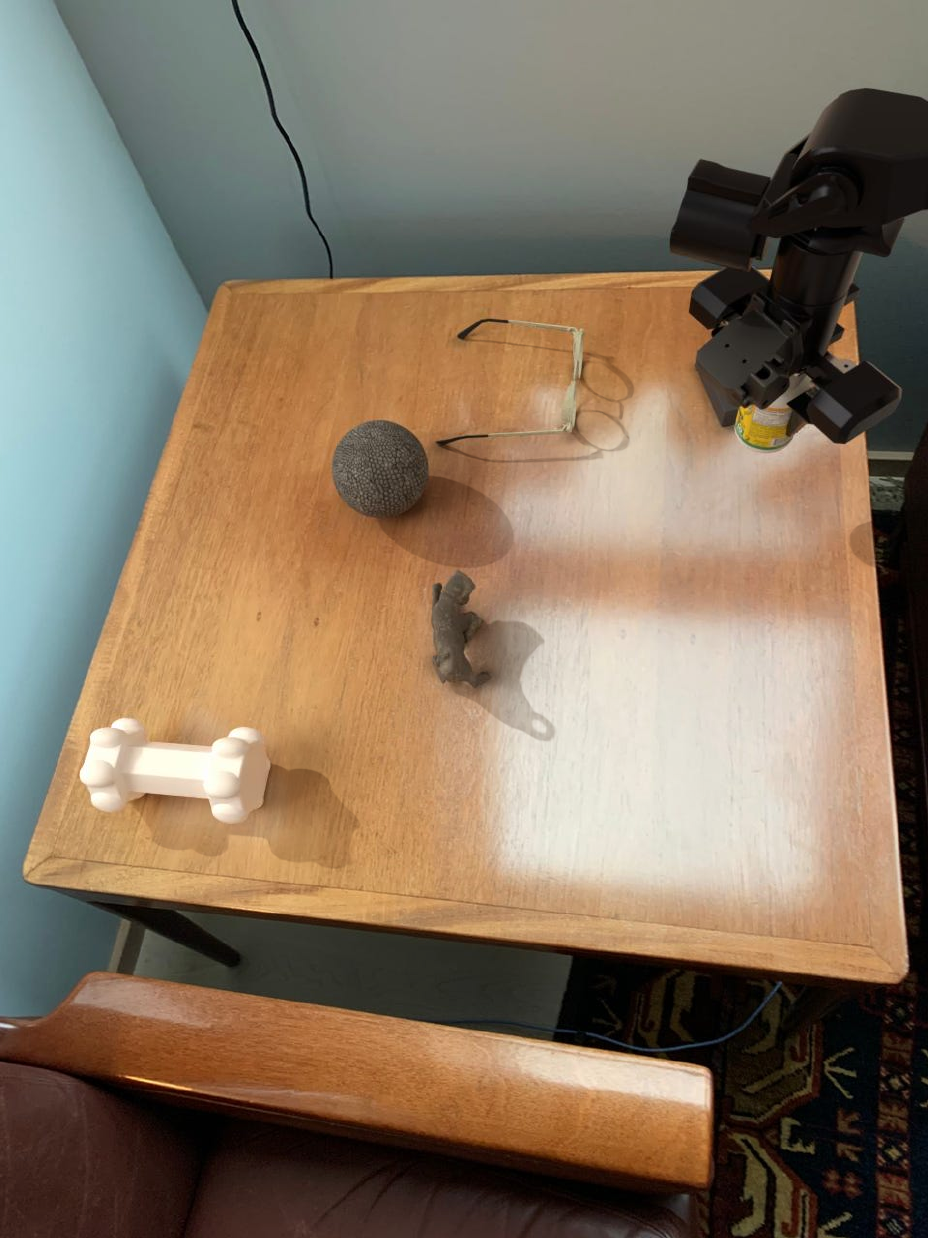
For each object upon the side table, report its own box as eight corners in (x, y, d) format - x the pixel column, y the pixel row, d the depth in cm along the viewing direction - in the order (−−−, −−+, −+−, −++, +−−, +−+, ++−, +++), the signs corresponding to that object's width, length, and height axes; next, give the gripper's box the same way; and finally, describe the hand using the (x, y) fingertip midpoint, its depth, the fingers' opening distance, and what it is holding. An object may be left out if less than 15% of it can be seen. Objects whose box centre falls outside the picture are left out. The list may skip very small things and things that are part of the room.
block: (772, 346, 97) (777, 329, 95) (803, 407, 93) (808, 391, 91) (694, 365, 97) (697, 349, 95) (721, 427, 93) (725, 412, 91)
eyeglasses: (571, 457, 94) (570, 428, 89) (434, 449, 96) (427, 420, 92) (585, 337, 101) (586, 305, 96) (458, 333, 103) (452, 301, 99)
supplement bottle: (784, 461, 79) (810, 391, 70) (726, 446, 80) (744, 375, 72) (800, 416, 81) (826, 342, 72) (742, 402, 82) (762, 328, 73)
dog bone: (279, 743, 83) (251, 715, 76) (260, 834, 80) (228, 813, 72) (135, 732, 86) (94, 703, 78) (110, 819, 82) (64, 798, 75)
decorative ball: (405, 443, 97) (387, 383, 88) (452, 504, 93) (439, 447, 84) (328, 489, 96) (303, 432, 87) (373, 552, 91) (351, 499, 83)
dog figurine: (491, 697, 83) (484, 667, 76) (432, 700, 83) (419, 671, 77) (488, 586, 88) (480, 549, 81) (432, 590, 89) (420, 553, 82)
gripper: (644, 258, 67) (633, 393, 81) (815, 410, 59) (770, 530, 73) (758, 193, 69) (727, 336, 83) (939, 332, 61) (871, 464, 75)
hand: (769, 413), depth 78 cm, fingers closed on supplement bottle, 5 cm apart
